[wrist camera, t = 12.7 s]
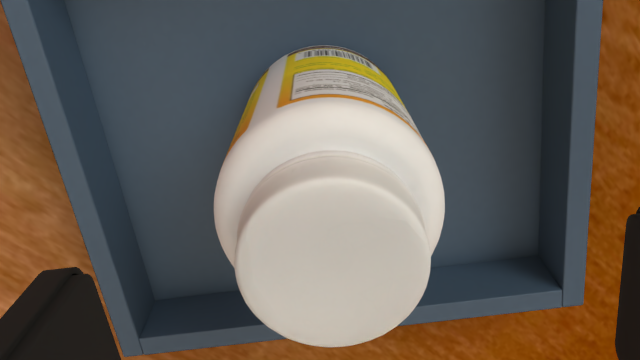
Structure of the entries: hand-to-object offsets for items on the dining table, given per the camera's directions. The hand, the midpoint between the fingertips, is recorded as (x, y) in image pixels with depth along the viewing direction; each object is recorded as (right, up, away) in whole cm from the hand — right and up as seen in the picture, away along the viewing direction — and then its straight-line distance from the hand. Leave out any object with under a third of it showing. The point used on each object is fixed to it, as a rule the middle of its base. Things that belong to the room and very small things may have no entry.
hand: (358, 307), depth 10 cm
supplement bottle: (-1, +5, +11) cm, 12 cm away
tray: (-1, +5, +11) cm, 12 cm away
